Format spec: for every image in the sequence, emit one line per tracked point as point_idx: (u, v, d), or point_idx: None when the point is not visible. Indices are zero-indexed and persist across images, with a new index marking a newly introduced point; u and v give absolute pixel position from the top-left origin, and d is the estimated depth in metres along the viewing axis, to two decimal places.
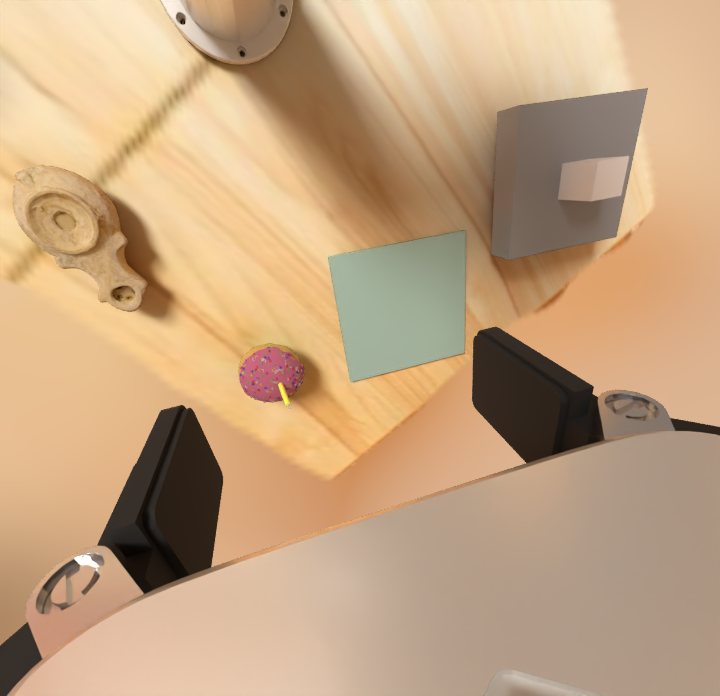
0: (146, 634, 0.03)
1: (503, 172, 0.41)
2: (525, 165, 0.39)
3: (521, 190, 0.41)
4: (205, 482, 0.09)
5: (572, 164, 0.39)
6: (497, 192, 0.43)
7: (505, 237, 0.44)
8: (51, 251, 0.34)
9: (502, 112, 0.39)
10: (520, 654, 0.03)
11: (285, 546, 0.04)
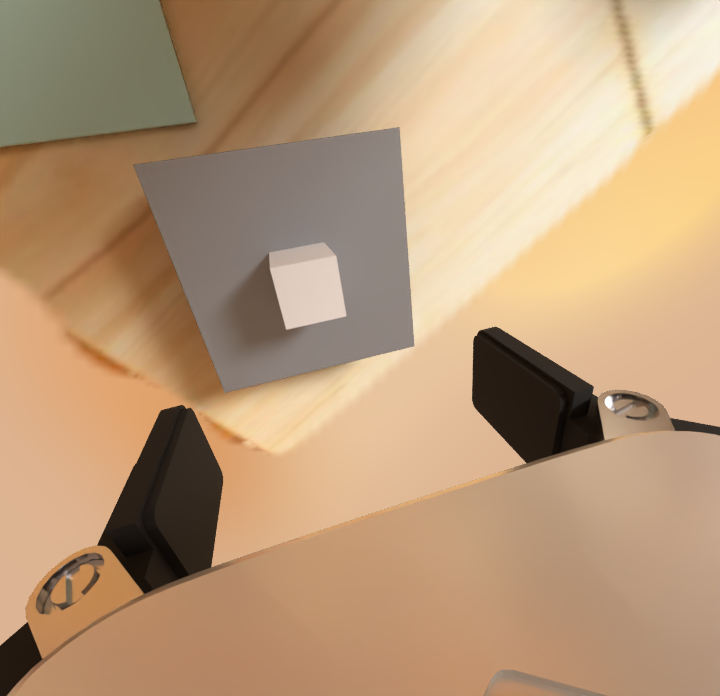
0: (146, 634, 0.03)
1: None
2: (316, 163, 0.22)
3: (275, 164, 0.22)
4: (205, 482, 0.09)
5: (325, 246, 0.23)
6: None
7: None
8: None
9: None
10: (520, 654, 0.03)
11: (285, 546, 0.04)
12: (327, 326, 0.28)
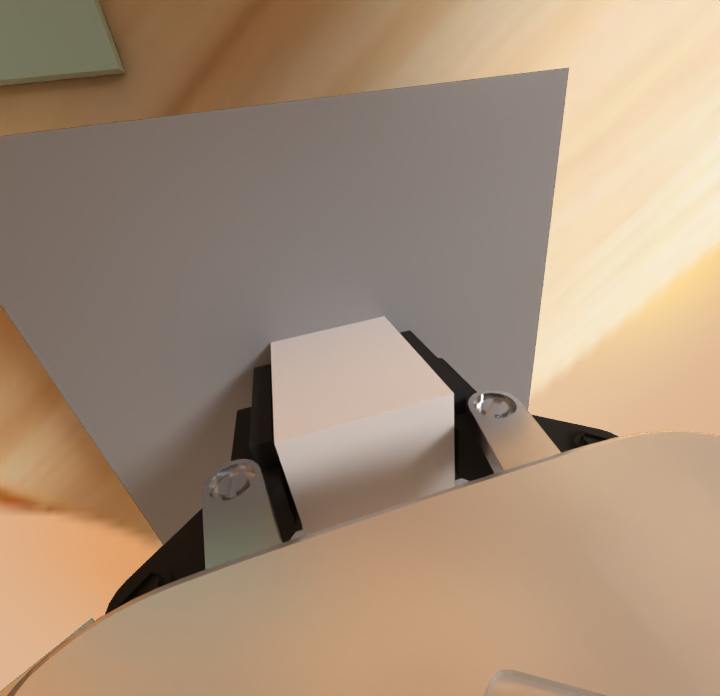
0: (146, 634, 0.03)
1: None
2: (382, 149, 0.10)
3: (286, 151, 0.09)
4: None
5: (395, 334, 0.10)
6: None
7: None
8: None
9: None
10: (520, 654, 0.03)
11: (285, 546, 0.04)
12: None
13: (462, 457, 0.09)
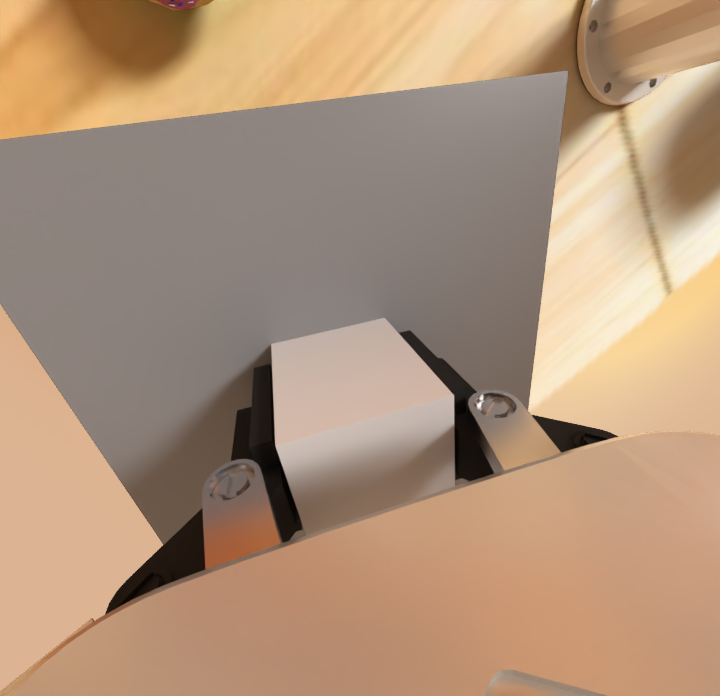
0: (146, 634, 0.03)
1: None
2: (382, 151, 0.10)
3: (287, 153, 0.09)
4: None
5: (395, 336, 0.10)
6: None
7: None
8: None
9: None
10: (520, 654, 0.03)
11: (285, 546, 0.04)
12: None
13: (462, 457, 0.09)
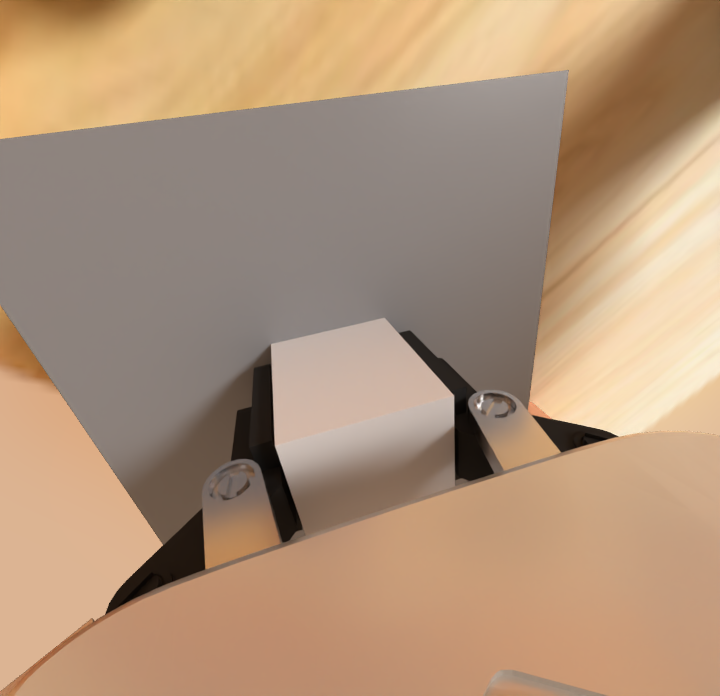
0: (146, 634, 0.03)
1: None
2: (382, 151, 0.10)
3: (286, 153, 0.09)
4: None
5: (395, 336, 0.10)
6: None
7: None
8: None
9: None
10: (520, 654, 0.03)
11: (285, 546, 0.04)
12: None
13: (462, 457, 0.09)
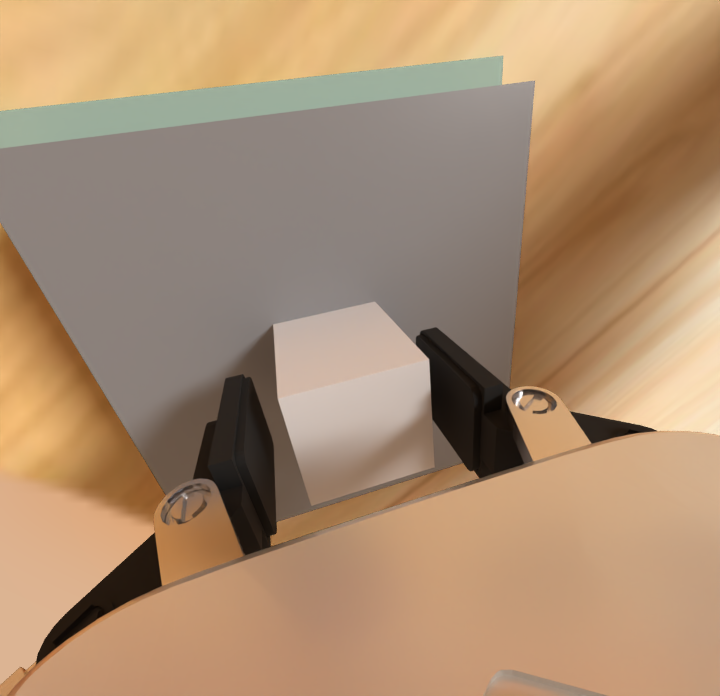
0: (146, 634, 0.03)
1: None
2: (371, 153, 0.11)
3: (287, 154, 0.10)
4: (265, 442, 0.10)
5: (383, 315, 0.12)
6: None
7: None
8: None
9: None
10: (520, 654, 0.03)
11: (285, 546, 0.04)
12: None
13: (498, 454, 0.08)
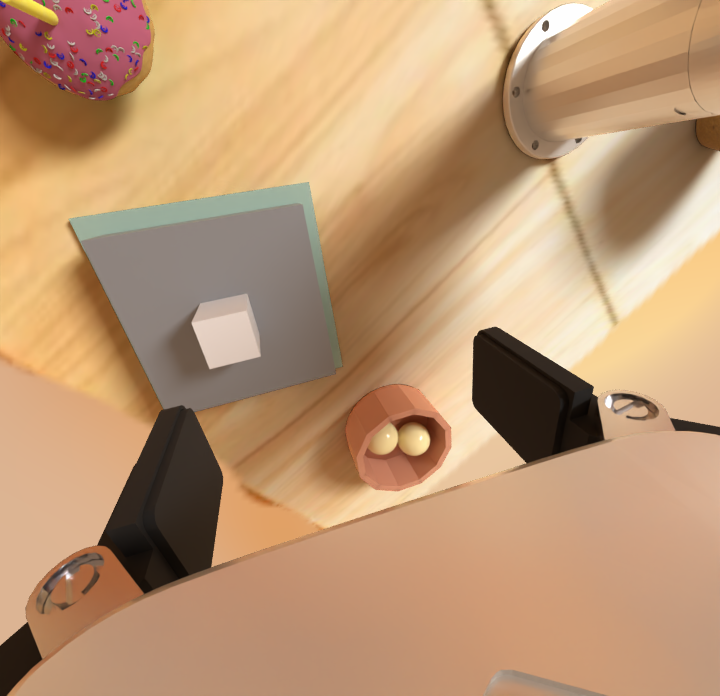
0: (146, 634, 0.03)
1: (225, 215, 0.29)
2: (235, 233, 0.28)
3: (200, 235, 0.27)
4: (205, 482, 0.09)
5: (245, 298, 0.29)
6: (199, 219, 0.29)
7: (124, 233, 0.26)
8: None
9: (296, 203, 0.31)
10: (520, 654, 0.03)
11: (285, 546, 0.04)
12: (256, 360, 0.33)
13: None
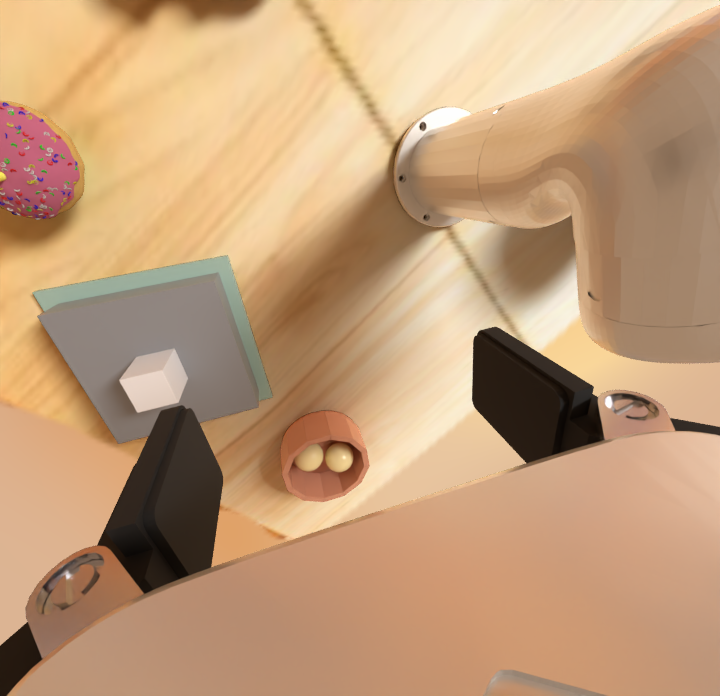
0: (146, 634, 0.03)
1: (155, 288, 0.36)
2: (160, 305, 0.35)
3: (131, 308, 0.35)
4: (205, 482, 0.09)
5: (169, 354, 0.36)
6: (136, 289, 0.37)
7: (72, 306, 0.34)
8: None
9: (216, 274, 0.38)
10: (520, 654, 0.03)
11: (285, 546, 0.04)
12: (188, 398, 0.40)
13: None
